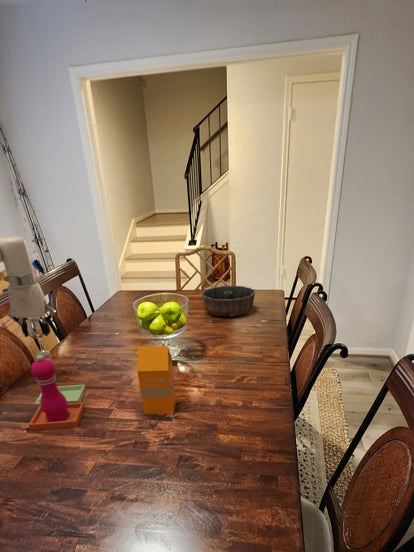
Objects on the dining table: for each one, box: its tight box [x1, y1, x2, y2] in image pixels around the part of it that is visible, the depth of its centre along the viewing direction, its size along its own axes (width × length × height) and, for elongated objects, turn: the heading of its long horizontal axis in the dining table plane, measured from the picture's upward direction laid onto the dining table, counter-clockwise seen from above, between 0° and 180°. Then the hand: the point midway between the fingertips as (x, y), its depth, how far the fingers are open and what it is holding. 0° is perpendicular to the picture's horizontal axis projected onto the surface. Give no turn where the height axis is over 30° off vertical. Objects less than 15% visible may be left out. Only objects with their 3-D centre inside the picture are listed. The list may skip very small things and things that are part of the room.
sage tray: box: [34, 384, 87, 410], centre depth 119 cm, size 13×10×2 cm
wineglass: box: [25, 317, 50, 357], centre depth 125 cm, size 6×6×12 cm
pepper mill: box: [30, 355, 69, 422], centre depth 104 cm, size 7×7×20 cm
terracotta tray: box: [28, 401, 86, 431], centre depth 109 cm, size 13×10×2 cm
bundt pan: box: [201, 285, 256, 318], centre depth 183 cm, size 26×26×10 cm
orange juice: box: [136, 345, 177, 415], centre depth 107 cm, size 8×9×20 cm
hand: (37, 334), depth 124 cm, fingers closed on wineglass, 5 cm apart
